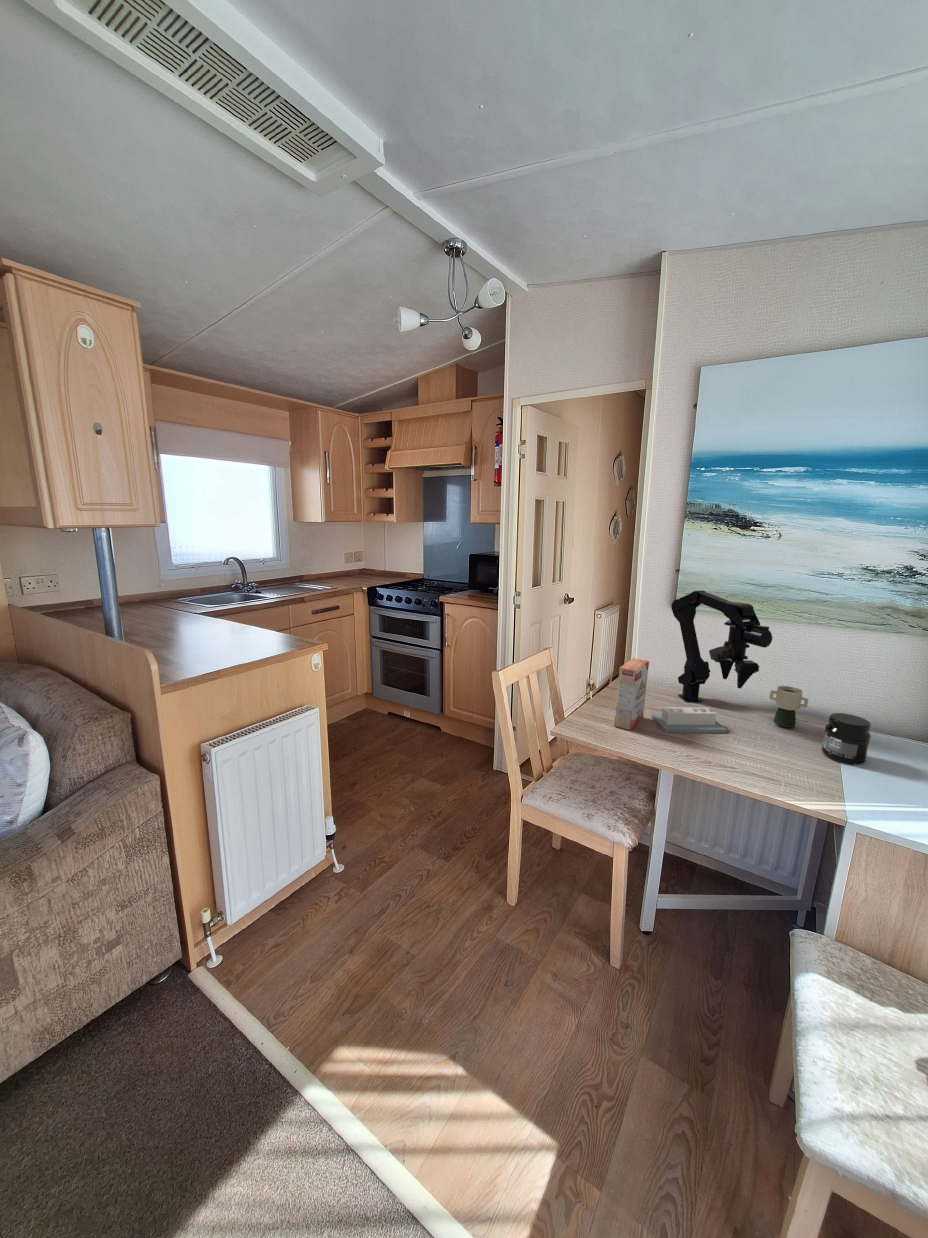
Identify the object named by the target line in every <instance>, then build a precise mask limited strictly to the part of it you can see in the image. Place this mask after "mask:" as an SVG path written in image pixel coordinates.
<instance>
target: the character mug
mask: <svg viewBox="0 0 928 1238" xmlns="http://www.w3.org/2000/svg"><path fill="white" fill-rule="evenodd" d="M774 695H776V696H775V697H774ZM769 699H770V700H772V701H775V702H774V704H775V706H776V707H778V708H777V709H776V712H775V714H774V719H773V723H775V725H776V726H777V725H778V726H779V727H784V728H793V727H796V723H797V721H796V719H797V718H796V717H797V715H796V713H797V712H796V711H798V710H799V709H800V708H801V707H802V708H807V707H808V704H809V698H808V697H804V696H803V690H802V689H800V688H799V687H794V686H789V685H779V686H777V689H776V690H770V693H769ZM802 701H804V703H802Z"/></svg>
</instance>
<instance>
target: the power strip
mask: <svg viewBox="0 0 928 1238" xmlns="http://www.w3.org/2000/svg"><path fill="white" fill-rule="evenodd" d="M674 710H679V711H680V712H674ZM698 710H703V711H704V712H697V711H698ZM660 714H661V719H662V720H663V721H664V722H665V723H666V724H667V725H715V720H716V718H717V713H716V711H714V710H713V709H712V708H710V707H683V706H681V707H679V706H678V707H674V706H673V707H669V706H668V707H665V706H664V707H661V713H660ZM716 721H717V720H716Z"/></svg>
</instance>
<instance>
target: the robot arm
mask: <svg viewBox="0 0 928 1238" xmlns="http://www.w3.org/2000/svg"><path fill="white" fill-rule="evenodd" d="M701 605H704V606H706V607H709V608H711V609H713V610H716V611H719V612H720V613H723V615H724V616H725V617H726V618H727V619H728V620H727V621H725V622H724V624H723V625H725V626H729V631H728V638H727V640H725V641H724V643H723V645H722V646H718V647H715V648H711V649H709V651H708V652H709V656H710V660H712V661H714V662H715V663H719V666H720V669H721V670H720V671H721V676H722V679H723V680H727V679H728V677H729V675H730V673H731V670H732V667H733V666H734V668H733V670H734V671H735V672H736V674H737V680H736V682H737V683H736V684H737V685H736V686H737V689H742V687H744V685H745V684H746V682H747V681H749V679H750V677H752V675H753V674H756V673H758V672H759V671H760V665H759V664H758V663H757V662H755V661H753V660H749V658H748V657H749V656H747V654H746V653H747V652H746V651H747V649H748V648H749V649H750V645H753V646H756V647H760V648H768V647H769V646H770V645H771V643H772V641H773V635H772V632H771V631H770V627H769V626H767V625H761V622H760V620H759V618H758V616H757V613H756V612H755V608H754V606H753V605H752V604H751V603H746V602H740V601H739V602H738V601H730V600H728V599H725V598H722V597H719V596H717V595H714V594H712V593H709V592H707V591H705V590H694V591H692V592H691V593H688V594H686V595H684V596H682V597H680V598H676V599H674V601H672V603H671V606H670V607H671V612H672V614H673V617H674V618H675V619H676V620H677V621H678V623H679V626H680V630H681V631H680V632H681V637H682V641H683V646H684V652H685V657H686V661H685V663H684V665H683V671H684V672H683V673H682V674H680V675H679V676H678V677H677V681H678V684H681V685H682V692H681V693H680V694H678V695H677V696H678V697H679V698H680V699H681V700H683V701H684V702H703V701H702V700H703V699H701V698H700V696H699V695H700V694H699V693H700V687H701V686H700V685H705V684H706V682H707V681H708V680H709V677H711V676H710V675H711V674H710V673H711V669H710V667H709V666H710V665H709V661H707V660H705V661H704V659H703V658H702V656H701V651H700V646H699V642H698V636H697V631H696V626H695V622H694V621H695V620H694V619H695V618H696V614H697V608H698V607H700V606H701Z"/></svg>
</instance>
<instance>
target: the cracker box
mask: <svg viewBox="0 0 928 1238" xmlns="http://www.w3.org/2000/svg"><path fill="white" fill-rule="evenodd" d="M649 665H650V661H649V660H645V659H641V658H631V659H630V660H629V661H627V662H626V663H624V664H623V665H621V666H620V667H619V669H618V670H619V672H618V683H617V692H616V703H615V714H614V723H613V725H614V726H613V727H616V728H620V729H623V730H626V731H631V730H632V729H633V728H634V727H635V726H636V725H637V724H638V723H639V722H640V721H641V720H642V719H643V718H644V710H645V705H646V703H645V701H646V693H647V684H648V674H649Z"/></svg>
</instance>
